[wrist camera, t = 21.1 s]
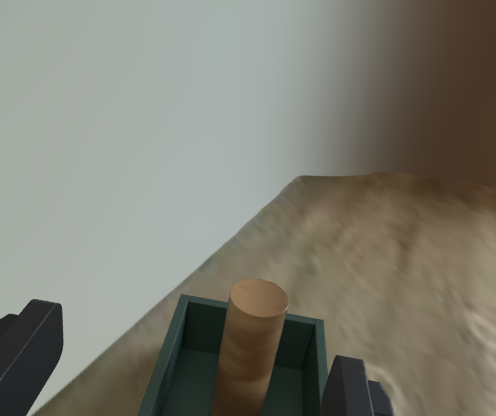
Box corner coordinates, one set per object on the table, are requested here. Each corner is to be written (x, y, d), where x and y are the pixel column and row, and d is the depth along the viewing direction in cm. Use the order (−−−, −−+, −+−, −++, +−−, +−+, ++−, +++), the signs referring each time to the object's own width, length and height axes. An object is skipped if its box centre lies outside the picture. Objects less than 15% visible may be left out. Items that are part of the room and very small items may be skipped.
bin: (127, 493, 30) (131, 432, 27) (175, 347, 42) (181, 293, 39) (314, 528, 30) (337, 470, 27) (308, 371, 42) (323, 319, 39)
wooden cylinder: (205, 434, 34) (226, 310, 29) (213, 391, 38) (233, 274, 32) (257, 444, 34) (288, 321, 29) (261, 400, 38) (289, 284, 32)
